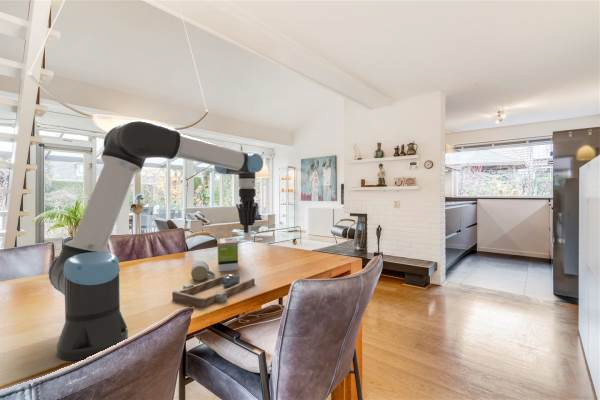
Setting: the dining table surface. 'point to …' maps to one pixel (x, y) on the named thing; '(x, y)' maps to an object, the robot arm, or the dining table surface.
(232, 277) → the rider
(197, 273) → the ceramic mug
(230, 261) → the tea box
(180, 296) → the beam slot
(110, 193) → the robot arm
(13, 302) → the dining table surface
